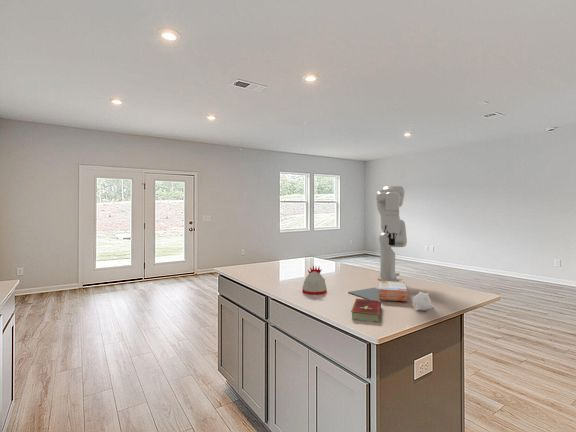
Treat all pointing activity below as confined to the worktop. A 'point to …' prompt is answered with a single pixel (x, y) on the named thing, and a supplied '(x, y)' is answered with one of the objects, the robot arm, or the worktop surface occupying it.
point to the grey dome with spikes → (314, 283)
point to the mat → (368, 294)
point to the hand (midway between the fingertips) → (391, 245)
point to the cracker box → (392, 291)
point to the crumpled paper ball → (422, 301)
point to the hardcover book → (366, 310)
